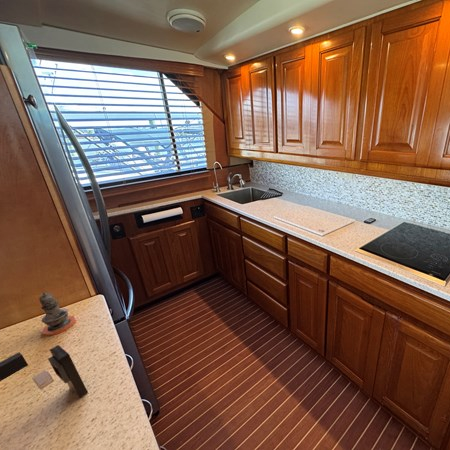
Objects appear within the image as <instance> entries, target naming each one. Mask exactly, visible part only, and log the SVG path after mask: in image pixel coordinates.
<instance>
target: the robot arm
mask: <svg viewBox="0 0 450 450" xmlns="http://www.w3.org/2000/svg"><path fill="white" fill-rule="evenodd" d="M28 366H29V364H28V362H27V361H26V359H25V357H24V355H23V354H22V353H21V351H18V352H16V353H14V354H13V355H10V356H9V357H7V358H5V359H3V360H2V361H0V382H2V381H4V380H6V379H8V378H9V377H10V376H13V375H15V374H16V373H17V372H19V371H22V370H23V369H25V368H27V367H28Z"/></svg>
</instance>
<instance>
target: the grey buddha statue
mask: <svg viewBox="0 0 450 450" xmlns="http://www.w3.org/2000/svg"><path fill="white" fill-rule="evenodd" d="M38 300H39V302H40V304H41V310H43V311H44V313H45V315H44V316H43V317H42V318H41V320H40V321H41V323H42V324H45V326H46V325H49V327H48V331H56V330H59V329H61V328H63V327H65V326H67V325H68V324H69V323H70V322H71V319H70V318H67V316H69V309H67V308H61V307H60V305H59V301H58V300H56V298H55V296H54V294H53V293H50V292H49V293H47V292H45V291H43V292H42V295H41V296H39V299H38Z"/></svg>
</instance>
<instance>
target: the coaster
mask: <svg viewBox="0 0 450 450" xmlns="http://www.w3.org/2000/svg"><path fill="white" fill-rule="evenodd" d="M67 318H70V319H71V322H70V323H69V324H68V325H67V326H65V327H63V328H61V329H59V330H56V331H48V327H49V325H46V324H45V326H44V327H43V328H42V331H41V333H42V334H43V336H47V337H48V336H54V335H57V334H61V333H63V332H65V331H67V330H69V329H70V328H71V327H73V326H74V325H75V324H76V323H77V321H78V320H77V317H76V316H74V315H68V316H67Z"/></svg>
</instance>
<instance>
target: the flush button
mask: <svg viewBox="0 0 450 450" xmlns="http://www.w3.org/2000/svg"><path fill="white" fill-rule="evenodd" d="M31 379H32V381H33V382H34V384H35V385H36V387H37V388H38V390H40V391H41V390H44V388H47V387H48V386H49V385H51V384H53V383H54V379H53V377H52V375H51V374H50V373H49V371H48V370H47V369H44V370H42V371H41V372H39V373H38V374H36V375H35V376H33V377H32V378H31Z"/></svg>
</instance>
